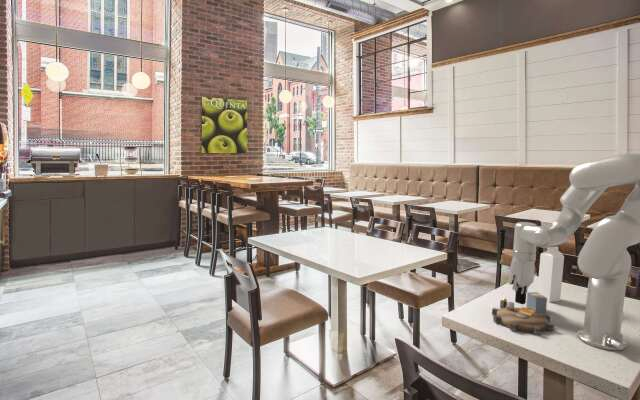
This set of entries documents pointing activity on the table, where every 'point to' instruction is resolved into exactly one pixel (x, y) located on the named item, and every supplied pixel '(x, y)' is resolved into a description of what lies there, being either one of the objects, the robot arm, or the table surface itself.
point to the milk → (551, 274)
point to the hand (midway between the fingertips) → (520, 302)
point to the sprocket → (522, 319)
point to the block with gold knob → (503, 303)
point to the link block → (536, 302)
